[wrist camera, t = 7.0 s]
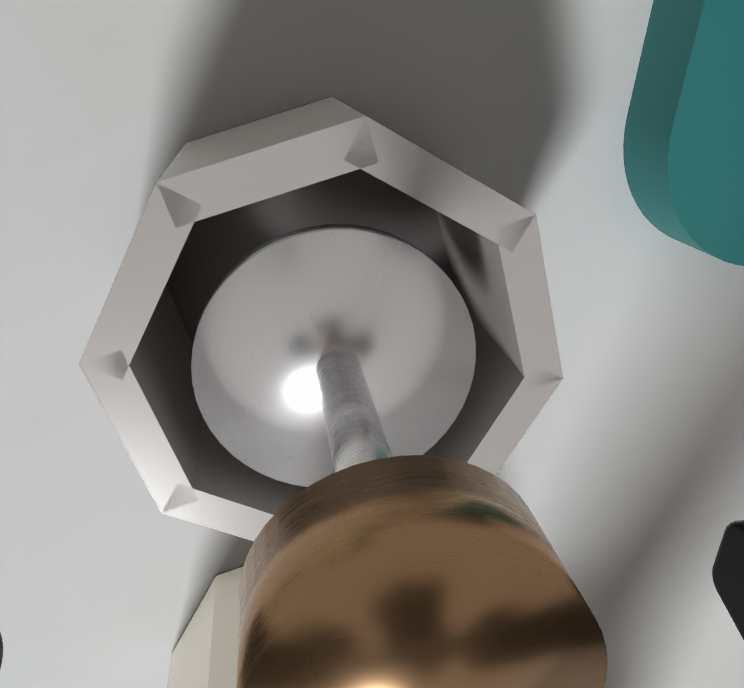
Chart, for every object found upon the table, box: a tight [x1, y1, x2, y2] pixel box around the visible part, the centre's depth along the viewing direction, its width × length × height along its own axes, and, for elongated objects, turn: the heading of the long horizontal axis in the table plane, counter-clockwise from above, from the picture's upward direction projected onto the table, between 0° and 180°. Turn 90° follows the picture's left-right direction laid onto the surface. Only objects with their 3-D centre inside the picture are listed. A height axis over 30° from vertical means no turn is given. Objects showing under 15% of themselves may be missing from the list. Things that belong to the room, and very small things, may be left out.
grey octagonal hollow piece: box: [79, 97, 563, 541], centre depth 15 cm, size 11×9×5 cm
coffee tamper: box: [191, 224, 607, 688], centre depth 10 cm, size 6×6×8 cm
